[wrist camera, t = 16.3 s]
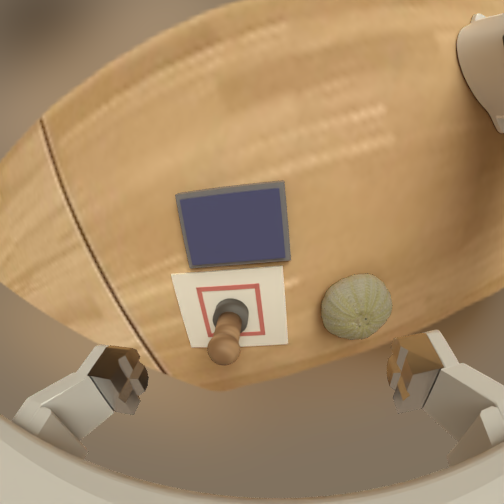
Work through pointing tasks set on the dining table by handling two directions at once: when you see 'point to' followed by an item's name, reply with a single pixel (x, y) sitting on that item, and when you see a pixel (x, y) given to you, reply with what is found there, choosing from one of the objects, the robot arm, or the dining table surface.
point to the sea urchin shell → (356, 306)
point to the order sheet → (237, 287)
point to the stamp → (227, 331)
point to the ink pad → (235, 224)
